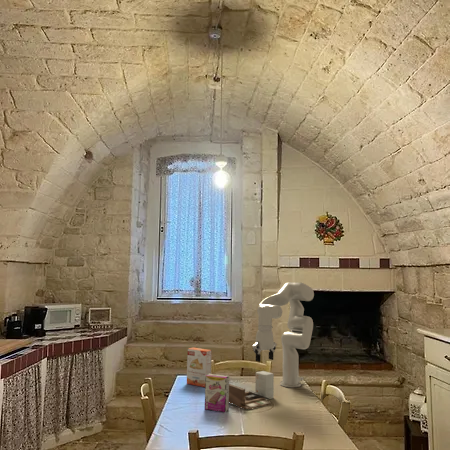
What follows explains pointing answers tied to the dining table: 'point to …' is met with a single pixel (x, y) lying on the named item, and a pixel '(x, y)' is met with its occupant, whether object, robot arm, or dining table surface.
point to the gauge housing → (239, 399)
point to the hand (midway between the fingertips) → (264, 360)
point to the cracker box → (198, 366)
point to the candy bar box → (217, 392)
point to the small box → (265, 384)
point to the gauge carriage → (254, 395)
